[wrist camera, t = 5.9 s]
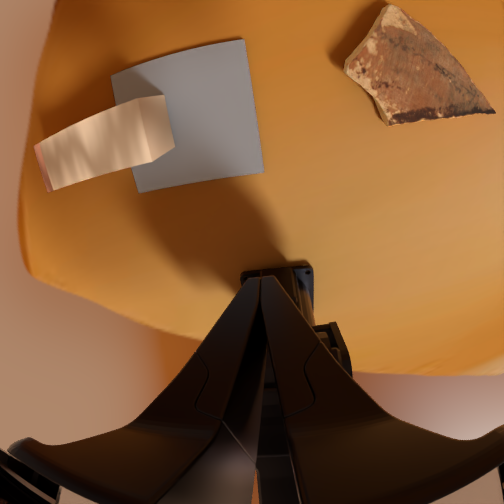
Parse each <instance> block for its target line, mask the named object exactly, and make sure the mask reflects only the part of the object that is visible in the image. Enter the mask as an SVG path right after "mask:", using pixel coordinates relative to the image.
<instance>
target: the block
mask: <svg viewBox="0 0 504 504" xmlns="http://www.w3.org/2000/svg"><path fill="white" fill-rule="evenodd" d="M174 147H175V143H174V139H173V134H172V130H171V125H170V120H169V116H168V111H167V106H166V101H165V96H164V95H158V96H150V97H143V98H137V99H134V100H131V101H128V102H126V103H123V104H120V105H118V106H115V107H112V108H110V109H107V110H105V111H103V112H100V113H98V114H95V115H93V116H91V117H89V118H86V119H84V120H82V121H80V122H78V123H76V124H74V125H72V126H69V127H67V128H65V129H63V130H62V131H60V132H58V133H56V134H54V135H52V136H50V137H48V138H47V139H45V140H43V141H41V142H40V143H38V144H36V145H34V150H35V153H36V157H37V161H38V164H39V167H40V170H41V174H42V177H43V180H44V183H45V186H46V189H47V191H48V192H51V191H54V190H57V189H60V188H62V187H65V186H68V185H71V184H74V183H77V182H80V181H84V180H87V179H90V178H93V177H96V176H100V175H103V174H107V173H110V172H114V171H118V170H121V169H125V168H129V167H133V166H137V165H141V164H145V163H149V162H153V161H154V160H156V159H157V158H159V157H160V156H162V155H163V154H165V153H166V152H168V151H170V150H171V149H173V148H174Z"/></svg>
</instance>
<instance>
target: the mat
mask: <svg viewBox="0 0 504 504" xmlns="http://www.w3.org/2000/svg"><path fill="white" fill-rule="evenodd" d="M111 82H112V87H113V93H114V98H115V103H116V106H118V105H120V104H123V103H126V102H128V101H131V100H134V99H137V98H143V97H150V96H158V95H164V96H165V101H166V106H167V111H168V116H169V120H170V125H171V130H172V134H173V139H174V143H175V147H174V148H173V149H171V150H170V151H168V152H166V153H165V154H163V155H162V156H160V157H159V158H157V159H156V160H154V161H153V162H149V163H145V164H141V165H137V166H133V167H131V169H132V172H133V176H134V179H135V182H136V186H137V189H138V193H143V192H148V191H153V190H158V189H163V188H168V187H173V186H178V185H184V184H190V183H195V182H201V181H207V180H214V179H220V178H227V177H234V176H241V175H249V174H257V173H264V166H263V159H262V151H261V144H260V137H259V130H258V123H257V117H256V110H255V103H254V97H253V90H252V84H251V77H250V71H249V65H248V59H247V53H246V47H245V41H244V39H241V40H235V41H228V42H223V43H217V44H212V45H207V46H203V47H198V48H194V49H190V50H186V51H182V52H178V53H174V54H171V55H167V56H164V57H161V58H157V59H154V60H151V61H148V62H145V63H142V64H139V65H137V66H134V67H131V68H128V69H126V70H123V71H121V72H118V73H116V74H113V75H111Z"/></svg>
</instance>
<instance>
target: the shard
mask: <svg viewBox="0 0 504 504" xmlns="http://www.w3.org/2000/svg"><path fill="white" fill-rule="evenodd" d="M343 71H344V73H345V74H347V75H348V76H349V77H350V78H351V79H353V80H354V81H356V82H357V83H359V84H360V85H361V86H362V87H363V88H364V89H365V90H366V91H367V92H368V93H370V94H371V95H372V96H373V98H374V101H375V103H376V106H377V108H378V110H379V113H380V116H381V118H382V120H383V122H384V123H385V124H386V126H388V127H390V126H394V125H397V124H399V125H401V124H404V123H416V122H419V121H423V120H428V121H429V120H435V119H449V118H458V117H466V116H470V115H474V114H487V115H489V114H495V113H496V112H495V111H494V110H493V108H492V107H491V105H490V104H489V102H488V101H487V99H486V98H485V96H484V95H483V94H482V93H481V91H480V90H479V89H478V88H477V87H476V85H475V84H474V82H473V81H472V80H471V78H470V77H469V75H468V74H467V73H466V71H465V69H464V68H463V67H462V65H461V64H460V63H459V62H458V61H457V60H456V59H455V57H454V56H453V55H452V54H451V53H450V52H449V50H448V49H447V48H446V47H445V46H444V45H443V44H442V43H441V42H440V41H439V40H438V39H436V37H435V36H434V35H433V34H432V33H431V32H430V31H429V30H428V29H426V28H425V27H424V26H423V25H422V24H420V23H419V22H418V21H415V20H414V19H413V18H411V17H410V16H409V15H408V14H407V13H406V12H405V11H403V10H402V9H401V8H399V7H397V6H394V5H391V4H388V5H387V6H385V7H383V8H382V10H381V12H380V15H379V16H378V17H377V19H376V20H375V22H374V24H373V26H372V28H371V29H370V31H369V32H368V34H367V36H366V37H365V38H364V39H363V41H362V42H361V43H360V44H359V45H358V46H357V47H356V48H355V49H354V51H353V52H352V54H351V55H350V56H349V57H348V58H347V59H346V60H345V64H344V69H343Z"/></svg>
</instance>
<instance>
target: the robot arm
mask: <svg viewBox="0 0 504 504" xmlns="http://www.w3.org/2000/svg"><path fill="white" fill-rule="evenodd" d="M307 270H310V271H309V272H305V271H307ZM244 277H248V278H244ZM240 281H241V285H242V287H241V289H240V290H239V291H238V293H237V294H236V296H235V297H234V298H233V300H232V301H231V303H230V304H229V305H228V307H227V308H226V310H225V311H224V312H223V314H222V315H221V317H220V318H219V319H218V321H217V322H216V324H215V325H214V326H213V328H212V329H211V330H210V332H209V333H208V335H207V336H206V337H205V339H204V340H203V342H202V343H201V344H200V346H199V347H198V349H197V350H196V352H194V354H193V355H192V356H191V358H190V359H189V361H188V362H187V363H186V364H185V366H184V367H183V368H182V370H181V371H180V372H179V373H178V375H177V376H176V377H175V378H174V379H173V380H172V381H171V383H170V384H169V385H168V386H167V387H166V388H165V389H164V390H163V391H162V392H161V393H160V394H159V395H158V397H157V398H156V399H155V400H154V401H153V402H152V403H151V404H150V405H149V406H148V407H147V408H146V409H145V410H144V411H143V412H142V413H141V414H140V415H139V416H138V417H137V418H136V419H135V420H133V421H132V422H131V423H129V424H128V425H126V426H124V427H122V428H119V429H116V430H113V431H110V432H107V433H104V434H100V435H97V436H93V437H90V438H86V439H83V440H79V441H75V442H72V443H67V444H63V445H45V444H42V443H40V442H39V441H37V440H35V439H33V438H30V437H27V438H25V439H21V440H18V441H16V442H14V443H13V444H12V445H11V446H10V447H9V448H8V449H7V451H8V452H9V453H10V454H11V455H10V454H9V453H7V452H6V451H4V450H3V449H1V448H0V504H251V500H252V492H253V484H254V476H255V469H256V472H257V481H258V493H259V504H504V425H501V426H499V427H497V428H495V429H494V430H492V431H490V432H489V433H487V434H485V435H484V436H482V437H480V438H477V439H473V440H457V439H453V438H450V437H446V436H443V435H440V434H438V433H434V432H432V431H429V430H426V429H423V428H420V427H418V426H415V425H413V424H410V423H407V422H405V421H402V420H400V419H398V418H396V417H394V416H392V415H391V414H389V413H388V412H386V411H385V410H384V409H383V408H382V407H381V406H379V405H378V404H377V403H376V402H375V401H374V400H373V399H372V398H371V397H370V396H369V395H368V394H367V393H366V392H365V391H364V390H363V389H362V388H361V387H360V386H359V385H358V383H356V382H355V380H354V379H353V377H352V366H351V360H350V356H349V352H348V349H347V347H346V345H345V342H344V340H343V337H342V335H341V333H340V330H339V328H338V326H337V323H336V322H329V324H324V325H317V326H316V325H315V320H314V315H313V303H314V275H313V268H312V267H311V266H310V265H305V266H296V267H284V268H274V269H265V270H257V271H247V272H243V273H241V276H240Z"/></svg>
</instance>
